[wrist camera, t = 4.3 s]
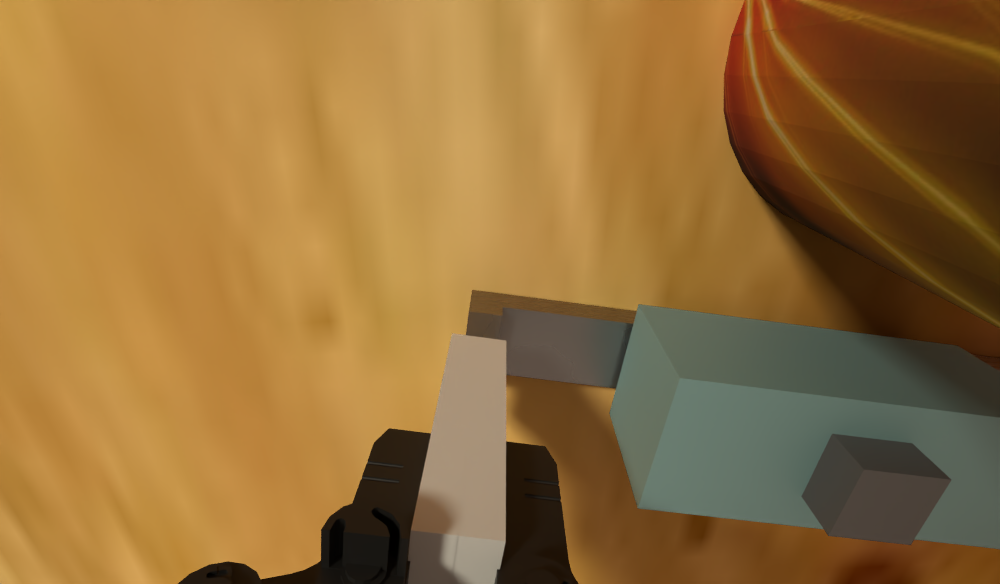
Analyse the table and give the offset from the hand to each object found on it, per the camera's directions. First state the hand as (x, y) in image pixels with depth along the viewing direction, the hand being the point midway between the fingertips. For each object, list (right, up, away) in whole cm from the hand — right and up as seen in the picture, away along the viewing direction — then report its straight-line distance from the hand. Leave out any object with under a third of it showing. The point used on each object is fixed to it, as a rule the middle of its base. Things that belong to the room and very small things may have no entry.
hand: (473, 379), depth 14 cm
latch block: (+10, 0, +2) cm, 10 cm away
